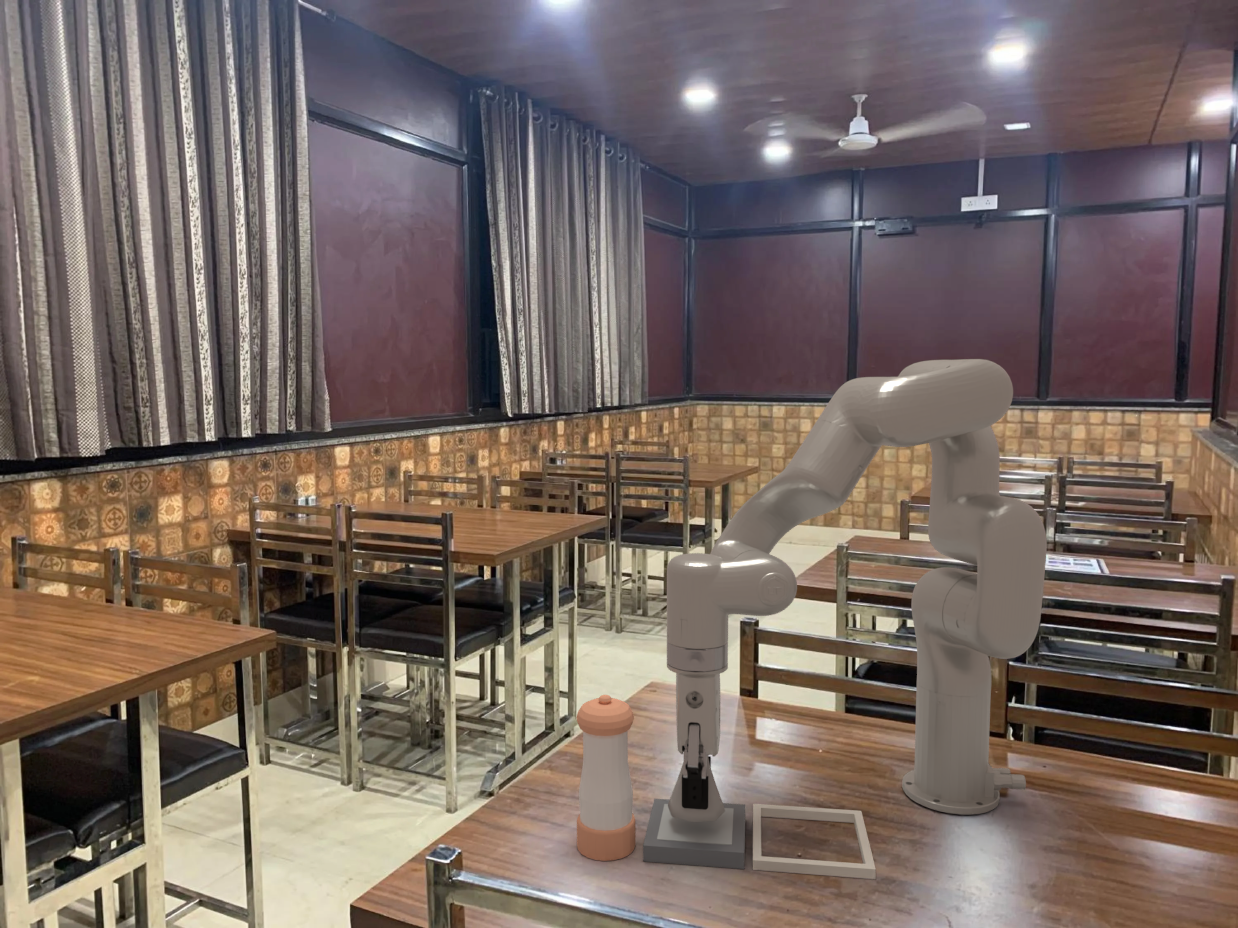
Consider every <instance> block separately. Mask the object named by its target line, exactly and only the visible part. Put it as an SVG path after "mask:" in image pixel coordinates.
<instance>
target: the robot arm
mask: <svg viewBox="0 0 1238 928" xmlns="http://www.w3.org/2000/svg"><path fill="white" fill-rule="evenodd" d="M1013 397H1014V386H1013V382H1012V380H1011V377H1010V375H1009V374H1008V372H1007V371H1006V370H1005V368H1003V367H1002V366H1001V365H999V364H997V363H996V362H995V361H991V360H989V359H983V358H968V359H966V358H964V359H931V360H929V359H928V360H923V361H918V362H914V363H912V364H909V365H907V366H906V367H904V368H903V369H902V370H901V372H900V373H899V374H898V375H897V376H865V377H864V376H863V377H862V376H861V377H857V378H853V379H852V378H851V379H850V380H848V381H846V382H844V384H842V385H841V386H839V388H838V389H837V390H836V391H835V393H834V394H833V396H832V397H831V399H830V400H829V401H828V403H827V405H826V406H825V408H824V409H823V411H822V412H821V413H820V415H819V417H818V418H817V419H816V421H815V423H814V424H813V426H812V427H811V429H810V431H809V432H808V434H807V435H806V437H805V438H804V440H803V442H802V443H801V445H800V446H799V448H797V451H796V452H795V454H794V455H793V457H792V458H791V459H790V461H789V462H788V463H787V465H786V466H785V468H784V469H783V470H782V471H781V472H780V473H778V474H777V475H776V476H774V477H772V479H771V480H769V481H768V482H767V483H766V484H765V485H764V486H763V487H762V488H760V489H759V490H758V491H757V492H756V493H754V494H753V495H752V496H751V497H750V498H749V499H748V500H746V501H745V502H744V503H743V504H742V505H741V506H740V508H738V510H737V511H736V512H735V514H734V515H733V517H732V518H731V519H730V521H728V523H727V525H726V527H725V528H724V529H723V531H722V532H721V534H720V535H719V537H718V539H717V540H716V542H715V544H714V545H713V547H712V549H711V551H710V553H703V552H701V553H699V552H697V553H696V552H695V553H694V552H693V553H683V554H678V555H676V556H674V557H672V558H671V559H669V562H668V563H667V567H666V668H667V669H668V670H669V671H671V672H672V673H675V674H676V675H675V679H676V680H675V710H676V711H675V712H676V713H675V714H676V715H675V716H676V717H675V718H676V719H675V721H676V740H677V741H676V743H677V751H678V753H680V754H681V755H683V761H684V764H683V763H682V765H683V775H682V807H683V808H689V809H703V810H706V809H707V808H708V776H706V764H707V755H708V758H709V764H710V767H711V768H712V760H711V759H712V757H716V756H717V755H718V754H719V749H720V741H721V740H720V739H721V675H720V674H723V673H725V672H726V671H727V670H728V669H729V667H728V666H729V661H728V660H729V656H728V655H729V648H728V647H729V615H740V616H741V615H742V616H751V617H752V616H753V617H755V616H756V617H766V616H768V617H769V616H773V615H777V614H779V613H781V612H783V611H785V610H786V609H787V608H788V607H789V606H791V604H792V603H793V602H794V600H795V599H796V596H797V591H798V581H797V577H796V575H795V573H794V571H793V569H792V568H791V567H790V565H788V564H787V563H786V562H785V561H784V560H782V559H780V558H779V557H777V556H776V555H772V554H771V552H772V550H773V549H774V548H775V547H776V545H777V544H778V543H779V541H780V540H781V539H782V538H783V537H784V536H786V534H788V533H789V532H790V531H792V530H793V529H794V528H795V527H797V526H798V525H800V524H802V523H804V522H807V521H808V520H811V519H812V520H813V519H814V518H817V517H820V516H822V515H826V514H828V513H830V512H833V511H834V510H837V509H839V508H840V507H842V506H843V505H844V504H845V503H846V501H847V500H848V498H849V497H850V495H851V494H852V492H853V491H854V489H855V487H856V486H857V484H858V483H859V481H860V480H861V478H862V476H863V475H864V473H865V472H866V470H867V468H868V467H869V466H870V464H871V463H872V461H873V459H874V458H875V456H876V455H877V454H878V452H879V450H880V449H881V447H882V446H887V447H892V448H893V447H894V448H907V447H916V446H922V445H925V444H928V445H929V448H930V452H931V481H930V482H931V483H930V492H929V493H930V495H929V496H930V498H929V508H928V509H929V511H928V520H927V521H928V523H927V524H928V526H927V531H928V539H929V542H930V544H931V546H932V548H933V549H934V550H935V551H936V552H938V553H940V554H941V555H943V556H944V557H945V556H946V557H948V558H951V559H953V560H956V561H958V562H963V563H966V564H970V565H973V566H977V568H976V569H977V570H976V572H977V573H976V572H973V571H969V570H966V569H963V568H958V567H950V566H949V567H947V566H945V567H944V566H943V567H936V568H933V569H931V570H929V571H927V572H926V573H924V574H923V575H922V576H921V577H920V578H919V579H918V580H917V582H916V584H915V586H914V587H913V590H912V595H911V603H910V604H911V616H912V621H913V622H912V624H913V626H914V627H913V628H914V634H915V640H916V641H915V643H916V657H917V658H916V661H917V662H916V663H917V664H916V665H917V666H916V674H917V675H916V694H915V732H914V733H915V735H914V736H915V737H914V769H911V770H910V771H908V772H907V773H905V774H904V776H903V777H902V783H901V784H902V786H901V787H902V790H903V792H904V793H905V795H906V796H907V797H908V798H909V799H911V800H912V801H914V802H915V803H917V804H918V805H921V806H923V807H926V808H928V809H931V810H933V811H937V812H940V813H946V814H951V815H960V816H962V815H965V816H967V815H968V816H969V815H972V816H973V815H980V814H985V813H988V812H990V811H992V810H994V809H996V808H997V807H998V805H999V803H1000V791H1001V790H1002V789H1011V790H1021V791H1023V790H1026V787H1027V782H1026V777H1025V775H1024V774H1017V773H1016V774H1014V773H1013V774H1011V769H1010V768H1007V767H1006V768H1005V767H1004V768H1003V767H999V768H996V767H992V765H990V763H989V755H990V754H989V752H990V751H989V749H990V728H991V727H990V726H991V725H990V723H991V721H990V719H991V693H992V669H991V668H992V667H991V662H990V658H989V657H992V658H994V659H995V658H996V659H1004V660H1007V659H1008V660H1009V659H1014V658H1016V657H1019V656H1021V655H1022V654H1024V653H1026V651H1027V650H1029V648H1030V647H1031V646H1032V644H1033V643H1034V641H1035V639H1036V637H1037V634H1038V632H1039V631H1038V630H1039V628H1040V622H1041V617H1042V616H1041V615H1042V607H1043V597H1044V588H1045V587H1044V586H1045V570H1046V562H1047V561H1046V560H1047V543H1048V542H1047V532H1046V529H1045V525H1044V522H1043V521H1042V519H1041V517H1040V515H1039V513H1038V512H1037V511H1036V509H1034V508H1033V507H1032V506H1031V505H1030V504H1028V503H1027V502H1025V501H1024V500H1023V501H1022V500H1020V499H1017V498H1015V497H1009V496H1004V495H1000V461H1001V459H1000V457H1001V456H1000V455H1001V454H1000V448H999V444H998V440H997V437H996V434H995V432H994V430H993V427H992V426H993V425H994V424H996V423H998V422H999V421H1000V420H1001V419H1002V418H1003V417H1004V416H1005V414H1007V412H1008V411H1009V409H1010V407H1011V404H1012V402H1013ZM687 747H688V750H687ZM699 747H703V751H699ZM699 757H700V758H702V764H701V762H699Z"/></svg>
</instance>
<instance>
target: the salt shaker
mask: <svg viewBox="0 0 1238 928" xmlns="http://www.w3.org/2000/svg"><path fill="white" fill-rule="evenodd" d="M634 720H635V716H634V711H633V710H632V708H631V706H630V705H629V704H628V703H626V702H625V701H624V700H620V699H618V698H613V697H611V696H610V695H608V694H601V695H599V697H597V698H594V699H591V700H588V701H585V702H584V703H582V705H581V706H580V708H579V709H578V711H577V714H576V722H577V724H578V725H577V726H578V727H579V729H580V730H581V731H582V733H583V734H582V742H583V744H582V745H583V746H582V747H583V749H582V750H583V751H582V754H583V755H582V756H583V757H582V758H583V759H582V761H583V762H582V768H581V774H580V780H579V781H580V782H579V789H578V799H579V800H578V802H579V814H578V816H577V818H576V847H577V850H578V852H579V853H580V854H581V855H582V856H584V857H586V858H587V859H591V860H594V861H602V862H606V861H617V860H620V859H624V858H626V857H628V856H629V855H631V854H632V853H633V851H635V849H636V842H637V841H636V835H637V834H636V817H635V815H634V814H635V813H633V803H634V801H633V800H634V799H633V798H634V795H633V794H634V793H633V792H634V790H633V785H632V778H631V772H630V765H629V752H628V751H629V749H628V748H629V743H628V741H629V739H628V737H629V736H628V731H629V730H630V729H631V727H632V725H633V722H634Z"/></svg>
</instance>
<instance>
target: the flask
mask: <svg viewBox="0 0 1238 928" xmlns="http://www.w3.org/2000/svg"><path fill="white" fill-rule="evenodd" d="M687 750H688V747H687ZM699 751H703V747H699ZM708 756H709V755H707V764H706V776H708V808H707V809H706V810H703V809H689V808H683V807H682V775H683V764H684V760H682V761H683V762H682V765H681V768H680V771H679V773H678V777H677V779H676V782H675V784H674V788H673V790H672V792H671V795H670V797H669V803H668V808H669V811H670V813H671V816H672V817H675V818H679V819H683V820H686V821H690V822H705V821H716V820H717V819H718V818H719V817H720V816H721V815H722V814H723V813H724V812H725V809H724V805H723V803H724V802H723V800H722V798H721V794H720V791H719V789H718V786H717V783H716V780H715V776H714V774H713V770H712V766H711V767H710V764H709V758H708ZM699 762H701V764H702V758H700V757H699Z"/></svg>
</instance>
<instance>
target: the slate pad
mask: <svg viewBox="0 0 1238 928" xmlns="http://www.w3.org/2000/svg"><path fill="white" fill-rule="evenodd" d="M669 800H670V798H669V799H666V798H654V799H653V802H652V803H653V804H652V807H651V811H650V816H649V820H648V823H647V827H646V831H645V835H644V841H643V844H642V854H643V855H642V858H643V859H642V862H649V863H658V864H659V863H663V864H673V865H686V866H687V865H688V866H697V867H698V866H700V867H712V868H713V867H714V868H725V869H726V868H727V869H737V870H744V869H745V854H746V851H745V850H746V849H745V847H746V845H745V844H746V804H743V803H727V802H726V803H725V802H723V805H724V809H725V812H724V813H723V814H722V815H721V816H720V817H719V818H718V819H717V820H716V821H705V822H690V821H686V820H683V819H679V818H675V817H672V816H671V813H670V811H669V808H668V803H669Z"/></svg>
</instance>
